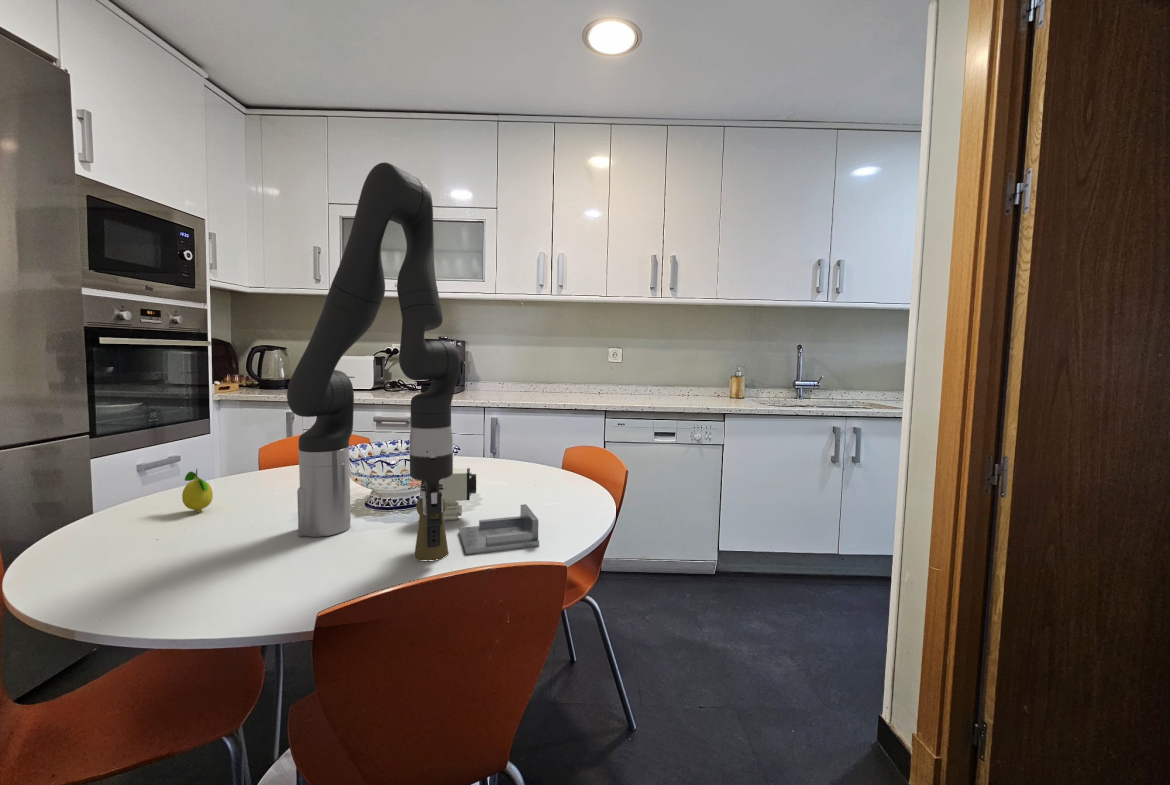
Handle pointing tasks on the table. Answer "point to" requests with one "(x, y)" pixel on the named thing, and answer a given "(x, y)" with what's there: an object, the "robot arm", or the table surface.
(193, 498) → the lemon
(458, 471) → the pneumatic valve
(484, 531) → the bracket
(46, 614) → the table surface
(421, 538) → the cork
